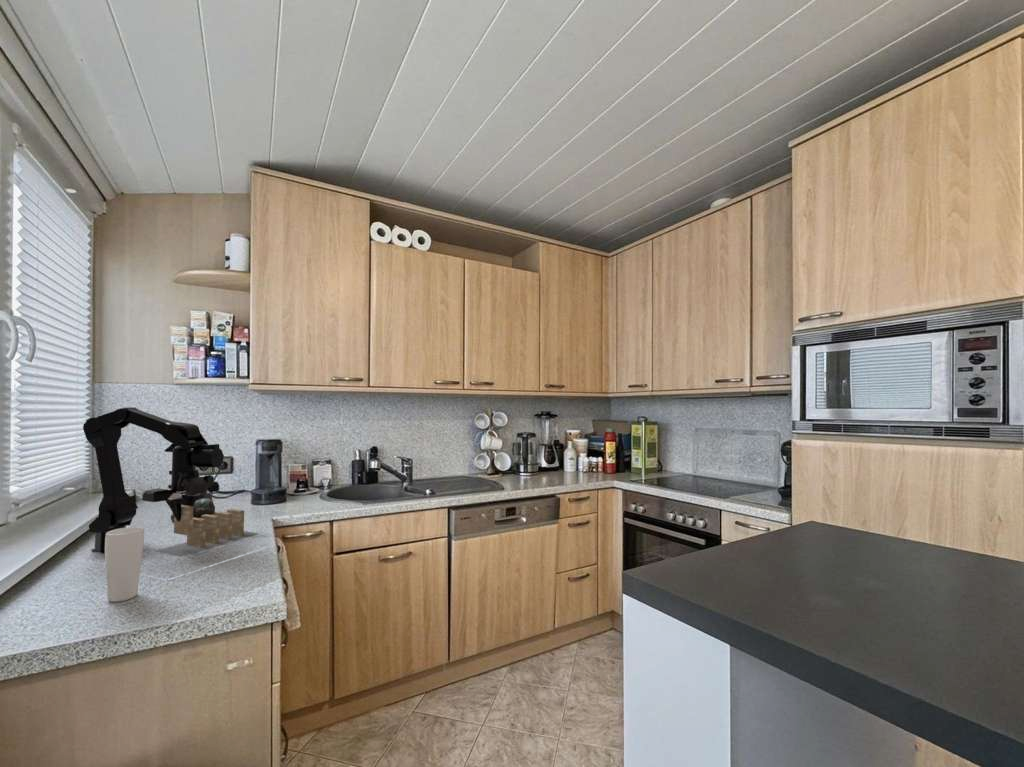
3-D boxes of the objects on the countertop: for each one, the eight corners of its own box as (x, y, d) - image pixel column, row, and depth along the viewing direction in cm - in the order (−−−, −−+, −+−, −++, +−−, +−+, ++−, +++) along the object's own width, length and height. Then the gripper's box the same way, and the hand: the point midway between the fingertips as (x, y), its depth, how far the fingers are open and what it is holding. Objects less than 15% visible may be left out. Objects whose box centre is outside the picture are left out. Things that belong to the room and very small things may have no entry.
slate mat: (180, 557, 132) (180, 556, 132) (154, 552, 137) (154, 550, 137) (259, 534, 155) (259, 533, 155) (234, 530, 160) (234, 529, 160)
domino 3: (213, 543, 144) (214, 517, 144) (200, 541, 146) (201, 515, 147) (218, 542, 145) (219, 516, 146) (205, 539, 148) (206, 514, 148)
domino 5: (239, 536, 152) (239, 511, 152) (226, 534, 154) (227, 509, 154) (243, 535, 153) (244, 510, 153) (231, 532, 156) (231, 508, 156)
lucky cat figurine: (161, 524, 167) (160, 487, 173) (182, 529, 178) (181, 494, 184) (205, 510, 169) (203, 474, 175) (223, 516, 180) (221, 482, 186)
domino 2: (199, 547, 140) (200, 520, 140) (186, 545, 143) (187, 518, 143) (205, 546, 142) (205, 519, 142) (192, 543, 144) (193, 517, 144)
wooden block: (226, 539, 148) (227, 514, 148) (214, 537, 150) (214, 512, 151) (231, 538, 149) (232, 513, 150) (218, 536, 152) (219, 511, 152)
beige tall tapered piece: (109, 607, 101) (112, 536, 101) (97, 599, 105) (100, 531, 105) (147, 596, 107) (149, 529, 107) (134, 589, 110) (136, 525, 111)
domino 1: (186, 535, 136) (187, 507, 136) (173, 533, 139) (174, 505, 139) (192, 534, 138) (193, 506, 138) (179, 531, 140) (180, 504, 140)
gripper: (166, 473, 127) (164, 531, 127) (232, 464, 144) (230, 516, 144) (142, 470, 132) (140, 526, 131) (208, 462, 149) (206, 512, 148)
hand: (182, 520), depth 139 cm, fingers closed on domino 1, 2 cm apart
